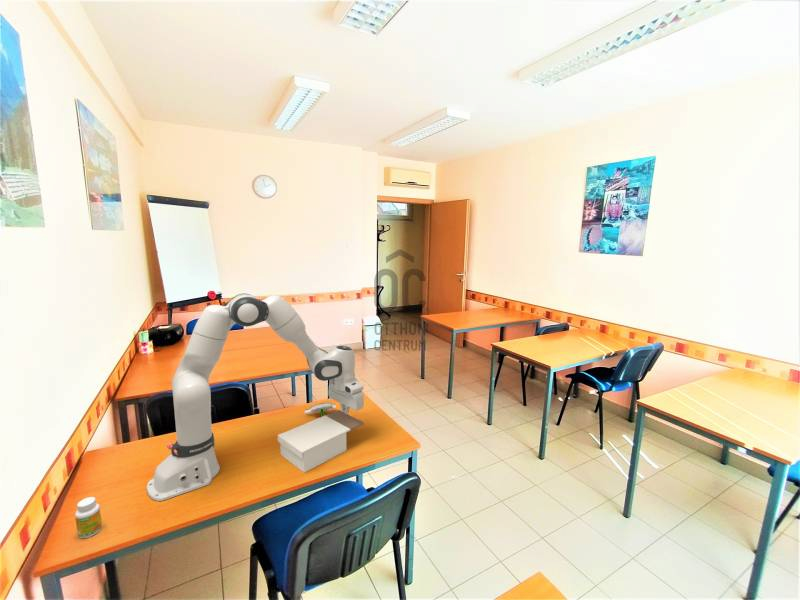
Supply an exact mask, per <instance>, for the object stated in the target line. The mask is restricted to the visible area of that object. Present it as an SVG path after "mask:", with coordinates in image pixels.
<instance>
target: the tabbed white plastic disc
mask: <svg viewBox="0 0 800 600" xmlns="http://www.w3.org/2000/svg"><path fill="white" fill-rule="evenodd" d="M336 408H337V407H336V404H335V403H334V404H333V403H332V402H330V401H329V402H321V403H318V404H314V405H312V406H311V407H310V408H307V409H304V414H305V415H308V414H315V413H316V412H318V413H320V415H321V417H323V416H325V414H324V412H326V410H327V411H329V410H335V409H336ZM316 414H317V413H316Z"/></svg>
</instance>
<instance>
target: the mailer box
mask: <svg viewBox="0 0 800 600" xmlns="http://www.w3.org/2000/svg"><path fill="white" fill-rule="evenodd" d="M279 447H280V455H281V456H282V457H283V458H285V459H286V460H287V461H288V462H290V463H291V464H292V465H294V466H295V467H296V468H297V469H298V470H300V471H301V472H303V473H306V472H309V471H310V470H312V469H314V468H316V467H318V466H320V465H322V464H323V463H325V462H327V461H330V460H331V459H333V458H335V457H337V456H339V455H340V454H342V453H345V452H346V451H347V450H348V449H347V432H346V433H344V434H342V435H340V436H338V437H336V438H334V439H332V440H330V441H328V442H325V443H323V444H321V445H319V446H317V447H315V448H313V449H311V450H309V451H307V452H305V453H303V459H301V458H300V457H299V456H297V455H296V454H295V453H293V452H292V451H291V450H289V449H288V448H286V447H285V446H284V445H282V444H281V443H280V442H279Z"/></svg>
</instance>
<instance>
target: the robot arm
mask: <svg viewBox="0 0 800 600" xmlns="http://www.w3.org/2000/svg"><path fill="white" fill-rule="evenodd" d="M263 322H265V323H267V324H268V326H270V327H271V329H272V330H273V331H274V333H276V335H277V336H279V338H281V339H282V340H283V341H286V342H289V343H293V344H294V345H295V347H297V348H298V349H299V350H300V351H301V352H302V354H303V355H304V356H305V358H306V362H307V366H308V367H309V369H310V370H311V371H312V373H313V375H314V376H315V378H316V379H318V380H320V381H324V382H327V381H329V385H328V397H329V398H330V399H331V400H333V401H334V402H335V401H336V402H338V403H339V405H340V408H341V411H342V412H343V413H345V414H348V415H350V414H349V413H350V409H352V410H354V411H356V412H357V411H360V410H362V409H363V408H364V405H365V404H364V403H365V402H364V401H365V398H364V392H363V390H364V385H363V384H362V383H361V382H360V381H359V380H358V379H357V378H356V374H355V367H356V360H355V359H356V358H355V352H354V349H352V348H351V347H349V346H347V345H339V346H338V345H337V346H336V347H334V348H333V350H332V351H330V352H328V351H327V350H325V349H323V348H320V347H318V345H316V343H315V342H314V341H313V339H311V338H310V336H309V335H308V334H307V331H306V325H305V323H304V321H303V319H302V317H301V316H300V315H299V313H298V312H297V311H296V310H295V308H294V307H293V306H292V305H291V304H290V303H289V302H288V301H286V299H284V298H283V297H282V296H281V295H277V294H273V295H269V296H268V297H266V298H264V299H262V300H261V299H258V298H257V297H255V296H254V295H252V294H249V293H239V294H236V295H235V296H233V297H232V298H230V300H227V302H226V303H225V304H223V305H220V304H210V305H207V306H206V307H205V308H204V309H203V311H202V312H201V314H200V315H199V317H198V319H197V321H196V323H195V325H194V328H193V330H192V333H191V336H190V338H189V340H188V341H189V342H188V344H187V347H186V349H185V352H184V354H183V356H182V358H181V360H180V362H179V364H178V366H177V368H176V370H175V373H174V376H173V377H172V380H171V386H172V387H171V389H172V398H173V399H172V400H173V409H174V421H175V431H176V432H175V433H176V434H175V435H176V442H174V443H173V442H172V441H170V442H168V443H167V444H166V448H167V449H168V450H170V452H171V453H170V454H169V455H168V456H167V457H166V458H165V459H164V460H163V461H162V462H160V463H159V464H158V465H157V466H156V468H155V471H154V475H153V478H152V479H150V480H149V481H148V482H147V484H146V492H147V495H148V496H149V497H150V499H152V500H154V501H157V502H162V501H165V500H169V499H171V498H173V497H177V496H179V495H182V494H186V493H189V492H192V491H194V490H197V489H200V488H203V487H207V486H209V485H210V484H211V482H212V480H213V478H215V476H216V475H217V474H218V473H219V472H220V469H221V466H220V464H219V462H218V459H217V456H216V453H215V452H216V451H215V443H216V442H215V441H216V440H215V435H214V433H213V428H212V427H213V426H212V414H211V413H212V408H211V407H212V401H211V400H212V399H211V395H212V394H211V393H212V391H211V386H210V384H209V379H210V376H211V374H212V371H213V369H214V368H215V366H216V365H217V363H218V361H219V360H220V357H221V356H222V355H221V354H222V353H223V349H224V347H225V344H226V340H227V338H228V336H229V332H230V331H231V329H232V328H233V326H234V325H236V324H237V325H239V326H241V327H252V326H255V325H258V324H259V323H263Z"/></svg>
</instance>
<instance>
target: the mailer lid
mask: <svg viewBox="0 0 800 600" xmlns="http://www.w3.org/2000/svg"><path fill="white" fill-rule="evenodd" d="M364 424H365V422H363V421H361V420H360V419H357V418H355V417H354V416H351V415H350V414H345V413H343V412H342V410H340V409H337V410H335V411H333V412H331V413H327V414H326V415H325V414H324V416H323V417H322V416H321V417H318V418H316V419H315V418H314V420H311V421H309V422H306V423H304V424H301V425H299V426H296V427H294V428H292V429H289V430H287V431H284V432H282V433H280V434H277V442H278V443H279V444H280V443H281V444H282V445H284V446H285V447H286V448H288V449H289V450H291V451H292V452H293V453H295V454H296V455H297V456H299V457H300V458H301V459H303V453H305V452H307V451H309V450H311V449H313V448H315V447H317V446H319V445H321V444H323V443H325V442H328V441H330V440H332V439H334V438H336V437H338V436H340V435H342V434H344V433H346V434H347V433H348V432H350V431H352V430H354V429H356V428H359V427H361V426H362V425H364Z"/></svg>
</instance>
